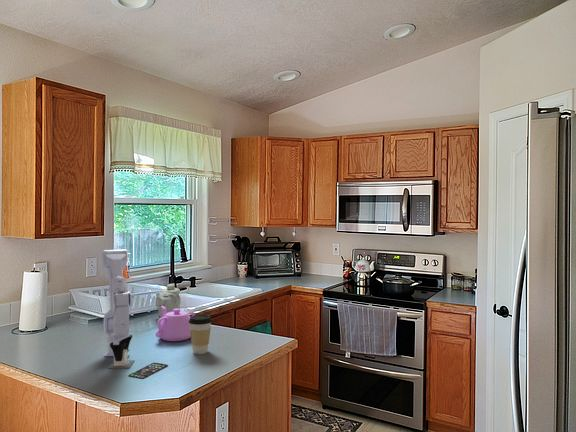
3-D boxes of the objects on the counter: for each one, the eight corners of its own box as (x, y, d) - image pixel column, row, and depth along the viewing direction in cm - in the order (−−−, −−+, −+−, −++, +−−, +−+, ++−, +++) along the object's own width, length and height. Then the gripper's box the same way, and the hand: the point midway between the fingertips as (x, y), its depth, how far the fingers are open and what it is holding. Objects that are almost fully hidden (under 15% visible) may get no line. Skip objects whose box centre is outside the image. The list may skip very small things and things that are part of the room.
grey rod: (127, 356, 184) (127, 354, 184) (129, 356, 184) (129, 354, 184) (123, 360, 179) (123, 359, 179) (125, 360, 179) (125, 359, 179)
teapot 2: (179, 328, 228) (179, 301, 227) (206, 336, 213) (206, 307, 213) (140, 337, 211) (140, 308, 211) (166, 347, 197) (167, 316, 196)
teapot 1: (157, 322, 238) (157, 287, 237) (148, 317, 250) (148, 283, 250) (186, 318, 247) (186, 285, 247) (176, 313, 260) (176, 281, 259)
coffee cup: (203, 346, 197) (203, 313, 197) (216, 351, 190) (216, 317, 190) (184, 351, 191) (184, 316, 190) (196, 357, 184) (196, 321, 183)
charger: (117, 362, 176) (117, 349, 176) (127, 361, 176) (127, 349, 176) (113, 365, 172) (113, 352, 172) (124, 365, 172) (124, 352, 172)
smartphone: (126, 375, 163) (153, 362, 176) (126, 377, 163) (153, 363, 176) (143, 378, 160) (169, 364, 174) (143, 380, 160) (169, 366, 174)
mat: (114, 361, 178) (114, 360, 178) (134, 361, 178) (134, 360, 178) (107, 368, 170) (107, 367, 170) (129, 368, 170) (129, 367, 170)
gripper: (116, 318, 181) (116, 351, 181) (104, 328, 166) (105, 364, 166) (134, 318, 181) (134, 351, 181) (124, 327, 167) (124, 363, 167)
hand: (121, 357), depth 174 cm, fingers open, 7 cm apart
